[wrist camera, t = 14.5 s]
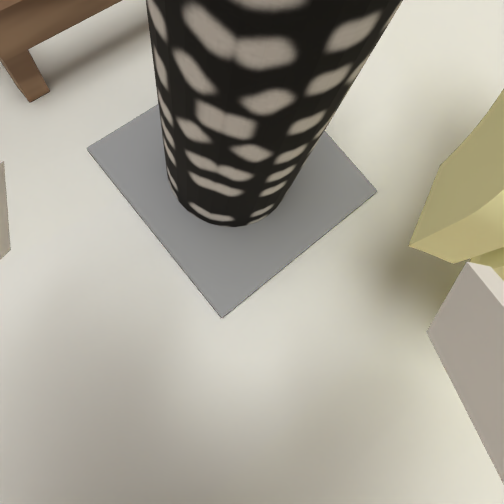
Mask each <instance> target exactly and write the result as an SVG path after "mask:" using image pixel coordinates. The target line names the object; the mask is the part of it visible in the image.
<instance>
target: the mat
mask: <svg viewBox="0 0 504 504" xmlns="http://www.w3.org/2000/svg"><path fill="white" fill-rule="evenodd" d="M87 150H88V152H89V153H90V154H91V155H92V157H93V158H94V159H95V160H96V162H97V163H98V164H99V165H100V167H101V168H102V169H103V170H104V172H105V173H106V174H107V175H108V177H109V178H110V179H111V180H112V182H113V183H114V184H115V185H116V187H117V188H118V189H119V191H120V192H121V193H122V194H123V196H124V197H125V198H126V199H127V201H128V202H129V203H130V204H131V206H132V207H133V208H134V209H135V211H136V212H137V213H138V214H139V216H140V217H141V218H142V219H143V221H144V222H145V223H146V224H147V226H148V227H149V228H150V229H151V231H152V232H153V233H154V234H155V236H156V237H157V238H158V239H159V241H160V242H161V243H162V244H163V246H164V247H165V248H166V249H167V251H168V252H169V253H170V254H171V256H172V257H173V258H174V259H175V261H176V262H177V263H178V264H179V266H180V267H181V268H182V269H183V271H184V272H185V273H186V274H187V276H188V277H189V278H190V279H191V281H192V282H193V283H194V285H195V286H196V287H197V288H198V290H199V291H200V292H201V293H202V295H203V296H204V297H205V298H206V300H207V301H208V302H209V303H210V305H211V306H212V307H213V308H214V310H215V311H216V312H217V313H218V315H219V316H220V317H221V318H223V317H224V316H225V315H226V314H228V313H229V312H230V311H231V310H232V309H234V308H235V307H236V306H237V305H239V304H240V303H241V302H242V301H243V300H245V299H246V298H247V297H248V296H250V295H251V294H252V293H253V292H255V291H256V290H257V289H258V288H259V287H261V286H262V285H263V284H264V283H266V282H267V281H268V280H269V279H271V278H272V277H273V276H274V275H275V274H277V273H278V272H279V271H280V270H282V269H283V268H284V267H285V266H286V265H288V264H289V263H290V262H291V261H293V260H294V259H295V258H296V257H298V256H299V255H300V254H301V253H302V252H304V251H305V250H306V249H307V248H309V247H310V246H311V245H312V244H313V243H315V242H316V241H317V240H318V239H320V238H321V237H322V236H323V235H325V234H326V233H327V232H328V231H329V230H331V229H332V228H333V227H334V226H336V225H337V224H338V223H339V222H340V221H342V220H343V219H344V218H345V217H347V216H348V215H349V214H350V213H352V212H353V211H354V210H355V209H356V208H358V207H359V206H360V205H361V204H363V203H364V202H365V201H366V200H367V199H369V198H370V197H371V196H372V195H374V194H375V193H376V192H377V190H376V189H375V188H374V186H373V185H372V184H371V183H370V182H369V181H368V180H367V178H366V177H365V176H364V175H363V174H362V173H361V172H360V170H359V169H358V168H357V167H356V166H355V165H354V164H353V162H352V161H351V160H350V159H349V158H348V157H347V156H346V154H345V153H344V152H343V151H342V150H341V149H340V148H339V146H338V145H337V144H336V143H335V142H334V141H333V140H332V138H331V137H330V136H329V135H328V134H327V133H326V132H325V130H324V132H323V134H322V135H321V137H320V139H319V140H318V142H317V144H316V145H315V147H314V149H313V150H312V152H311V153H310V155H309V157H308V158H307V160H306V162H305V163H304V165H303V167H302V168H301V170H300V172H299V173H298V175H297V177H296V178H295V180H294V182H293V183H292V185H291V187H290V188H289V190H288V192H287V193H286V195H285V197H284V198H283V200H282V201H281V202H280V204H279V205H278V207H277V208H276V209H275V210H274V211H273V212H271V213H270V214H269V215H268V216H267V217H265V218H263V219H261V220H260V221H258V222H255V223H252V224H249V225H246V226H239V227H224V226H218V225H214V224H210V223H207V222H205V221H203V220H201V219H199V218H197V217H195V216H194V215H193V214H191V213H190V212H189V211H187V210H186V209H185V208H184V207H183V206H182V205H181V203H180V202H179V201H178V200H177V198H176V196H175V195H174V193H173V192H172V189H171V187H170V184H169V181H168V176H167V169H166V161H165V152H164V144H163V136H162V128H161V120H160V112H159V104H158V105H156V106H154V107H153V108H151V109H149V110H148V111H146V112H145V113H143V114H141V115H140V116H138V117H136V118H135V119H133V120H132V121H130V122H128V123H127V124H125V125H123V126H122V127H120V128H118V129H117V130H115V131H114V132H112V133H110V134H109V135H107V136H105V137H104V138H102V139H101V140H99V141H97V142H96V143H94V144H92V145H91V146H89V147H88V148H87Z"/></svg>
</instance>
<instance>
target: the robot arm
mask: <svg viewBox="0 0 504 504" xmlns="http://www.w3.org/2000/svg"><path fill="white" fill-rule="evenodd" d="M10 250H11V248H10V235H9V222H8V209H7V195H6V182H5V169H4V161H0V259H2V258H3V257H4V256H5V255H6V254H7V253H8V252H9V251H10ZM426 332H427V334H428V336H429V338H430V340H431V342H432V344H433V346H434V348H435V350H436V352H437V354H438V356H439V358H440V360H441V362H442V364H443V366H444V368H445V370H446V372H447V374H448V376H449V378H450V380H451V382H452V383H453V385H454V387H455V389H456V391H457V393H458V395H459V397H460V399H461V401H462V403H463V405H464V407H465V409H466V411H467V413H468V415H469V417H470V419H471V421H472V423H473V425H474V427H475V429H476V431H477V433H478V435H479V437H480V439H481V441H482V443H483V445H484V447H485V449H486V451H487V453H488V455H489V457H490V458H491V460H492V462H493V464H494V466H495V468H496V470H497V472H498V474H499V476H500V478H501V480H502V482H503V484H504V281H503V280H502V279H501V278H500V276H499V275H498V274H497V273H496V272H495V271H494V270H493V269H492V267H490V266H485V265H481V264H476V263H471V262H466V264H465V265H464V267H463V269H462V271H461V272H460V274H459V276H458V278H457V279H456V281H455V283H454V284H453V286H452V288H451V290H450V291H449V293H448V295H447V297H446V298H445V300H444V302H443V304H442V305H441V307H440V309H439V311H438V312H437V314H436V316H435V317H434V319H433V321H432V323H431V324H430V326H429V328H428V330H427V331H426Z"/></svg>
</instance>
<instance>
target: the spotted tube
mask: <svg viewBox="0 0 504 504" xmlns="http://www.w3.org/2000/svg"><path fill="white" fill-rule="evenodd" d="M402 1H403V0H146V5H147V13H148V22H149V30H150V38H151V46H152V54H153V62H154V71H155V79H156V87H157V95H158V103H159V112H160V120H161V128H162V136H163V144H164V152H165V161H166V169H167V176H168V181H169V184H170V187H171V189H172V192H173V193H174V195H175V196H176V198H177V200H178V201H179V202H180V203H181V205H182V206H183V207H184V208H185V209H186V210H187V211H189V212H190V213H191V214H193V215H194V216H195V217H197V218H199V219H201V220H203V221H205V222H207V223H210V224H214V225H218V226H224V227H239V226H246V225H249V224H252V223H255V222H258V221H260V220H261V219H263V218H265V217H267V216H268V215H269V214H270V213H271V212H273V211H274V210H275V209H276V208H277V207H278V205H279V204H280V202H281V201H282V200H283V198H284V197H285V195H286V193H287V192H288V190H289V188H290V187H291V185H292V183H293V182H294V180H295V178H296V177H297V175H298V173H299V172H300V170H301V168H302V167H303V165H304V163H305V162H306V160H307V158H308V157H309V155H310V153H311V152H312V150H313V149H314V147H315V145H316V144H317V142H318V140H319V139H320V137H321V135H322V134H323V132H324V130H325V129H326V127H327V125H328V124H329V122H330V120H331V119H332V117H333V115H334V114H335V112H336V110H337V109H338V107H339V105H340V104H341V102H342V100H343V99H344V97H345V95H346V94H347V92H348V91H349V89H350V87H351V86H352V84H353V82H354V81H355V79H356V77H357V76H358V74H359V72H360V71H361V69H362V67H363V66H364V64H365V62H366V61H367V59H368V57H369V56H370V54H371V52H372V51H373V49H374V47H375V46H376V44H377V42H378V41H379V39H380V37H381V36H382V34H383V32H384V31H385V29H386V28H387V26H388V24H389V23H390V21H391V19H392V18H393V16H394V14H395V13H396V11H397V9H398V8H399V6H400V4H401V3H402Z"/></svg>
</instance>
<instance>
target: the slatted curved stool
mask: <svg viewBox="0 0 504 504" xmlns="http://www.w3.org/2000/svg"><path fill="white" fill-rule="evenodd" d="M408 246H410V247H412V248H415V249H417V250H420V251H423V252H425V253H428V254H430V255H433V256H435V257H438V258H440V259H442V260H445V261H447V262H450V263H452V264H455V263H458V262H461V261H464V260H467V259H470V258H471V260H470V262H471V263H476V264H481V265H485V266H490V267H492V269H493V270H494V271H495V272H496V273H497V274H498V275H499V276H500V278H501V279H502V280H503V281H504V89H503V91H502V92H501V94H500V95H499V97H498V98H497V100H496V101H495V103H494V104H493V105H492V107H491V108H490V109H489V111H488V112H487V114H486V115H485V116H484V118H483V119H482V120H481V121H480V123H479V124H478V125H477V126H476V128H475V129H474V130H473V131H472V132H471V134H470V135H469V136H468V137H467V138H466V139H465V140H464V141H463V143H462V144H461V145H460V146H459V147H458V148H457V149H456V150H455V151H454V152H453V153H452V154H451V155H450V156H449V157H448V158H447V159H446V160H445V161H444V162H443V163H442V164H441V165H440V167H439V170H438V172H437V175H436V177H435V180H434V182H433V185H432V187H431V190H430V192H429V195H428V197H427V200H426V202H425V205H424V207H423V210H422V212H421V215H420V218H419V220H418V223H417V225H416V228H415V230H414V233H413V235H412V238H411V240H410V243H409V245H408Z"/></svg>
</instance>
